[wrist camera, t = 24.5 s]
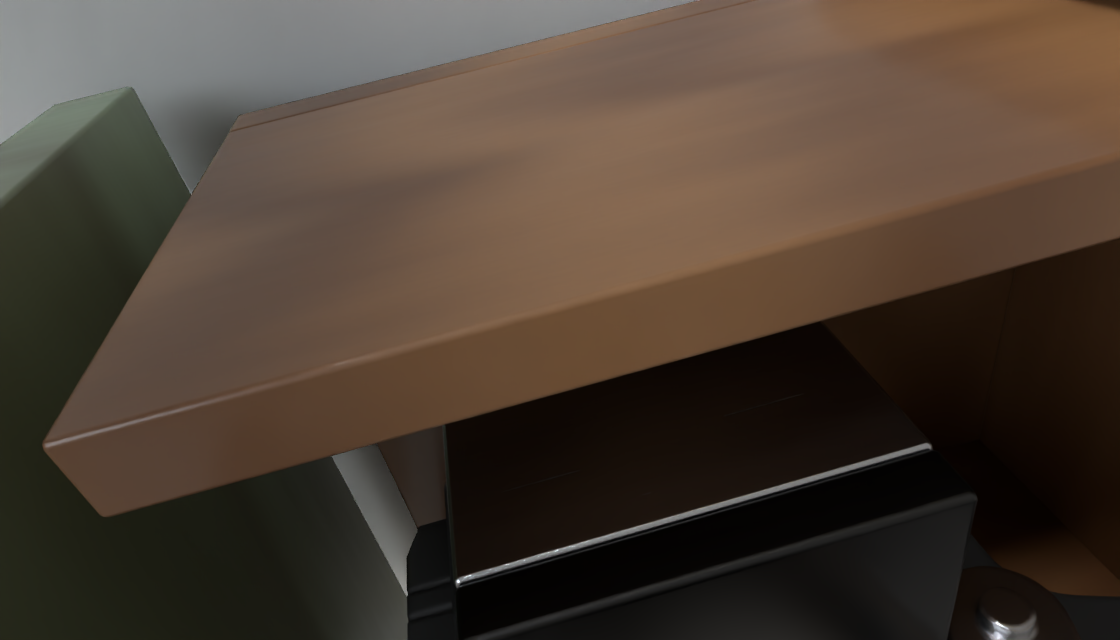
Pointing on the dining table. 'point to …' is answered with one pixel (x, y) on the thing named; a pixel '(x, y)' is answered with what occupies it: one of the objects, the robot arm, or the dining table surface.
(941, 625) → the black lidded box
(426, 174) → the drawer
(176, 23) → the dining table surface
